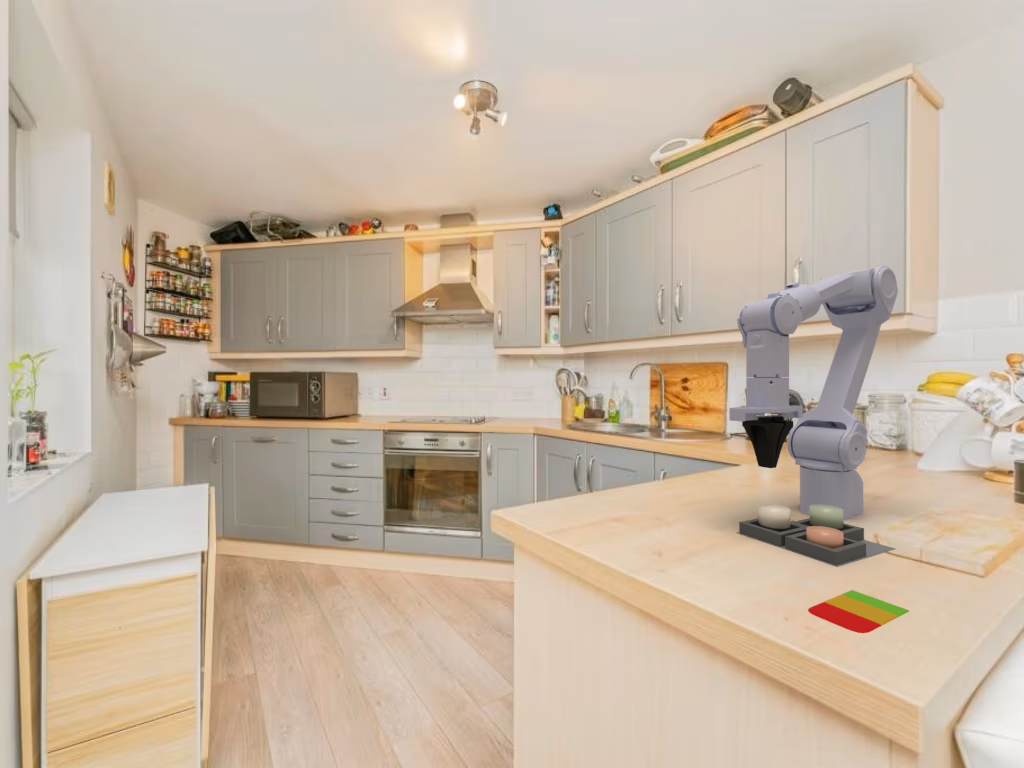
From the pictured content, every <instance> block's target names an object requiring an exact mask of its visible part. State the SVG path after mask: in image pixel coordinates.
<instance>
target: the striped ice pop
mask: <svg viewBox="0 0 1024 768" xmlns="http://www.w3.org/2000/svg"><path fill="white" fill-rule="evenodd" d="M807 612H808V613H809V614H811V615H812V616H815V617H816V618H819V619H822V620H824V621H826V622H829V623H831V624H834V625H835V626H838V627H841V628H843V629H846V630H848V631H851V632H854V633H859V634H867V633H870V632H873V631H875V630H877V629H878V628H880V627H882V626H884V625H886V624H888V623H890V622H892V621H894V620H895V619H898V618H900V617H901V616H903V615H905V614H908V613H909V612H910V610H908V609H907V608H905V607H901V606H898V605H895V604H892V603H889V602H887V601H884V600H881V599H878V598H875V597H873V596H871V595H868V594H865V593H861V592H859V591H856V590H854V589H851V590H849V591H847V592H844V593H841V594H839V595H837V596H835V597H832V598H830V599H827V600H824V601H823V602H820V603H817V604H814V605H813V606H810V607H809V608H808V609H807Z"/></svg>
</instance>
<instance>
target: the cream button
mask: <svg viewBox="0 0 1024 768" xmlns="http://www.w3.org/2000/svg"><path fill="white" fill-rule="evenodd" d="M757 509H758V510H757V511H758V512H757V515H758V517H757V518H758V523H759V524H760V525H762V526H765V527H770V528H776V529H786V528H790V521H791V508H790V507H787V506H785V505H781V504H775V503H774V504H773V503H760V504H758V507H757Z"/></svg>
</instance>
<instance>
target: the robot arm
mask: <svg viewBox="0 0 1024 768" xmlns="http://www.w3.org/2000/svg"><path fill="white" fill-rule="evenodd" d="M895 274H896V273H894V270H892V269H891V268H890V267H889V266H887V265H879V266H878V267H875V268H873V267H871V268H866V269H861V270H854V271H849V272H844V273H843V272H842V273H839V274H834V275H828V276H824V277H820V280H818V281H816V282H814V283H812V284H810V285H809V284H805V283H801V284H800V283H799V281H796V282H791V283H788V284H786V285H784V288H785V289H784V290H782V291H780V292H779V291H773V292H769V293H767V297H766V298H765V299H759V300H752V301H749V302H747V303H746V305H745V306H743V307H742V308H741V310H740V312H739V316H738V318H737V319H736V321H737V327H738V330H739V333H740V335H741V337H742V345H743V348H744V349H745V351H746V354H745V355H746V357H745V358H746V361H745V362H746V363H745V364H746V365H745V366H746V369H745V370H746V381H745V384H746V386H745V387H746V388H745V389H746V390H745V392H746V394H745V395H746V399H745V400H746V401H745V402H746V403H745V404H746V405H740V406H735V407H729V408H728V409H729V412H728V413H729V421H732V422H741V424H742V425H741V426H742V427H743V428H744V430H745V432H746V433H747V436H748V438H749V440H750V441H751V442H750V443H751V444H752V448H753V450H754V454H755V459H756V462H757V466H758V467H760V468H765V469H776V468H777V466H778V462H779V459H780V456H781V452H782V448H783V446H784V443H785V441H786V448H787V450H788V453H789V455H790V457H791V458H792V459H794V461H795V462H794V463H795V465H798V466H799V511H800V513H802V514H804V515H806V516H809V517H810V508H809V506H810V505H813V504H824V505H831V506H836V507H839V508H842V509H843V521H844V520H845V521H846V520H850V519H852V518H853V517H855V516H859V515H863V514H864V481H863V478H862V476H861V474H860V473H859V472H858V471H857V468H858V467H860V465H861V464H862V463H863V461H864V460H865V457H866V454H867V445H866V442H867V437H868V430H867V428H866V426H865V424H864V423H863V422H862V420H860V419H859V418H857V416H855V415H854V413H855V410H856V406H857V404H858V400H859V397H860V393H861V390H862V387H863V384H864V381H865V377H866V375H867V372H868V368H869V367H870V366H869V365H870V363H871V359H872V357H873V353H874V349H875V347H876V343H877V340H878V338H879V334H880V331H881V327H882V324H884V323H885V322H887V321H889V320H890V317H891V315H892V312H893V310H894V306H895V303H896V300H897V297H898V292H899V291H898V285H897V283H898V282H897V277H896V275H895ZM821 306H823V309H824V310H825V312H826V315H827V317H828V319H829V322H830V323H831V325H832V326H834V327H836V328H838V329H840V330H842V332H841V336H840V337H839V341H838V344H837V346H836V350H835V353H834V356H833V359H832V362H831V365H830V367H829V370H828V373H827V376H826V379H825V382H824V384H823V389H822V390H821V391H822V392H821V394H820V397H819V400H818V402H817V405H816V407H813V408H812V409H810V410H808V411H807V412H804V411H803V410H804V407H803V405H793V404H791V405H790V335H794V333H795V332H796V331H797V329H798V327H799V324H800V323H802V322H805V321H807V320H809V319H811V318H813V317H814V316H815V315H817V314H818V313H819V310H820V308H821ZM803 412H804V413H803ZM766 414H769V415H766ZM794 418H795V419H797V421H796V424H795V425H794V420H787V419H794ZM785 419H786V420H785Z"/></svg>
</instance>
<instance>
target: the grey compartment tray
mask: <svg viewBox="0 0 1024 768" xmlns="http://www.w3.org/2000/svg"><path fill="white" fill-rule="evenodd" d="M738 525H739V528H738V529H739V530H738V532H736V534H738V535H741V536H744V537H746V538H749V539H753V540H756V541H759V542H761V543H765V544H767V545H771V546H773V547H777V548H780V549H783V550H785V551H788V552H791V553H795V554H797V555H800V556H803V557H805V558H809V559H813V560H815V561H818V562H822V563H824V564H827V565H829V566H833V567H837V568H838V567H842V566H845V565H849V564H852V563H855V562H859V561H861V560H865V559H869V558H871V557H874V556H878V555H882V554H885V553H887V552H891V551H894V550H896V548H894V547H891V546H889V545H884V544H880V543H877V542H874V541H870V540H865V528H863V527H860V526H856V525H852V524H848V523H844V522H843V528H842V529H837V530H840V531H842V532H843V544H844V546H842V547H838V548H834V549H832V548H828V547H825V546H822V545H819V544H815V543H812V542H809V541H807V536H806V528H807V527H809V526H814V525H812V524H810V517H808V518H805V519H800V520H790V528H786V529H776V528H770V527H765V526H762V525H760V524H759V523H758V517H757V518H754V519H753V518H752V519H749V520H743V521H739V523H738Z"/></svg>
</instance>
